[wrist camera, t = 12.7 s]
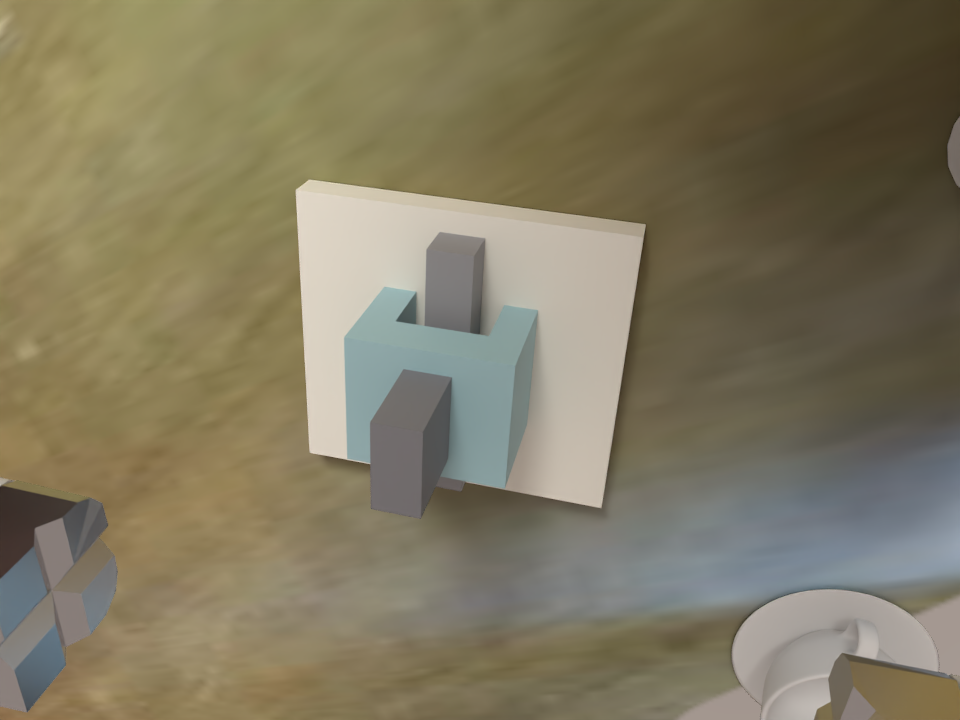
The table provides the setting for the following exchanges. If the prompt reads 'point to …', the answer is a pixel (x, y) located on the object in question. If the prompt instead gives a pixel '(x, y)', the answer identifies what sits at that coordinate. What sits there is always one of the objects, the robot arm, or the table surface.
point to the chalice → (954, 152)
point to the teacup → (820, 646)
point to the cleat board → (515, 277)
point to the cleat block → (434, 400)
